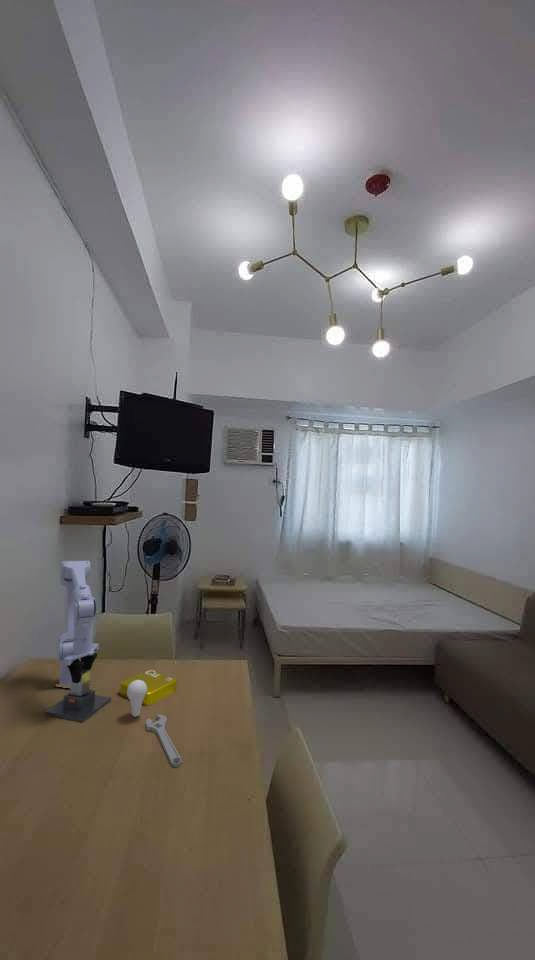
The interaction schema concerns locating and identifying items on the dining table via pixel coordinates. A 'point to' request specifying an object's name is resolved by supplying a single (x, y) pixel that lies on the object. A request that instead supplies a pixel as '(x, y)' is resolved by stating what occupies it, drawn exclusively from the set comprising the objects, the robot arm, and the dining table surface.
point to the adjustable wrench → (164, 739)
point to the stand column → (81, 685)
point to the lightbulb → (136, 695)
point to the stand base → (78, 706)
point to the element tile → (152, 685)
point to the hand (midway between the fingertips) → (80, 679)
